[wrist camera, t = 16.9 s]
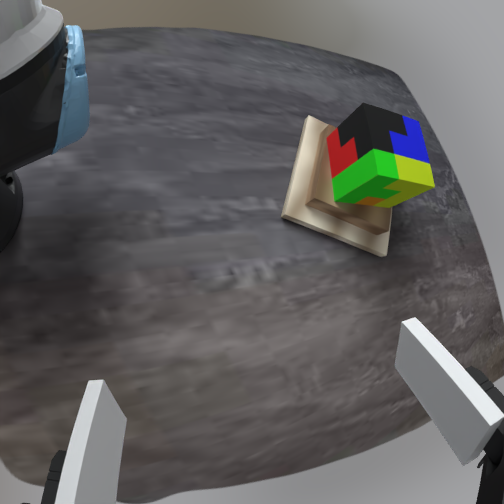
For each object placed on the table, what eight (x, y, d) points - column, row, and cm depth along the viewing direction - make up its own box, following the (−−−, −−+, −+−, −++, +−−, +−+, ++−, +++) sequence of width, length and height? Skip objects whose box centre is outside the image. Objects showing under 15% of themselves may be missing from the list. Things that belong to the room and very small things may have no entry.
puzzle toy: (379, 149, 47) (418, 121, 38) (389, 208, 45) (434, 187, 36) (326, 138, 44) (363, 102, 35) (334, 201, 43) (378, 174, 33)
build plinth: (280, 217, 45) (293, 207, 41) (304, 120, 49) (316, 105, 45) (380, 257, 49) (398, 252, 45) (390, 164, 53) (406, 154, 49)
